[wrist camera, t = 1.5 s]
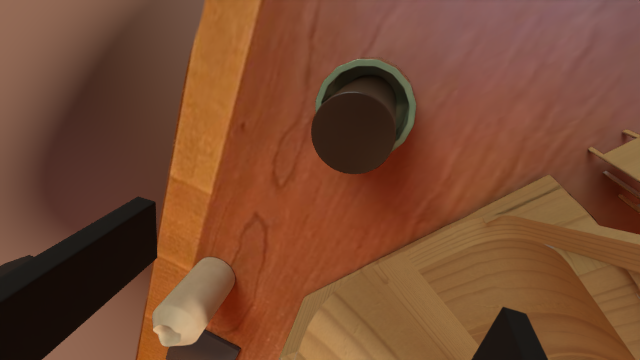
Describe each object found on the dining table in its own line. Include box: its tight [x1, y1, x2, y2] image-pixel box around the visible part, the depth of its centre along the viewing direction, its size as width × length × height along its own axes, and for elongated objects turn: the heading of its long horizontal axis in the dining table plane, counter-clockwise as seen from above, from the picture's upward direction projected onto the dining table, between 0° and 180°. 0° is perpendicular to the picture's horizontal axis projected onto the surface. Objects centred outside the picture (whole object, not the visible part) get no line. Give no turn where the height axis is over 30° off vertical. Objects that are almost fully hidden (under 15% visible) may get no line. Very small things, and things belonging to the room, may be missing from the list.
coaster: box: [166, 330, 241, 360], centre depth 48 cm, size 10×10×1 cm
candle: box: [152, 257, 235, 347], centre depth 37 cm, size 6×6×10 cm
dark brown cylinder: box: [311, 75, 397, 174], centre depth 24 cm, size 5×5×11 cm
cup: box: [316, 57, 416, 152], centre depth 27 cm, size 8×8×4 cm
